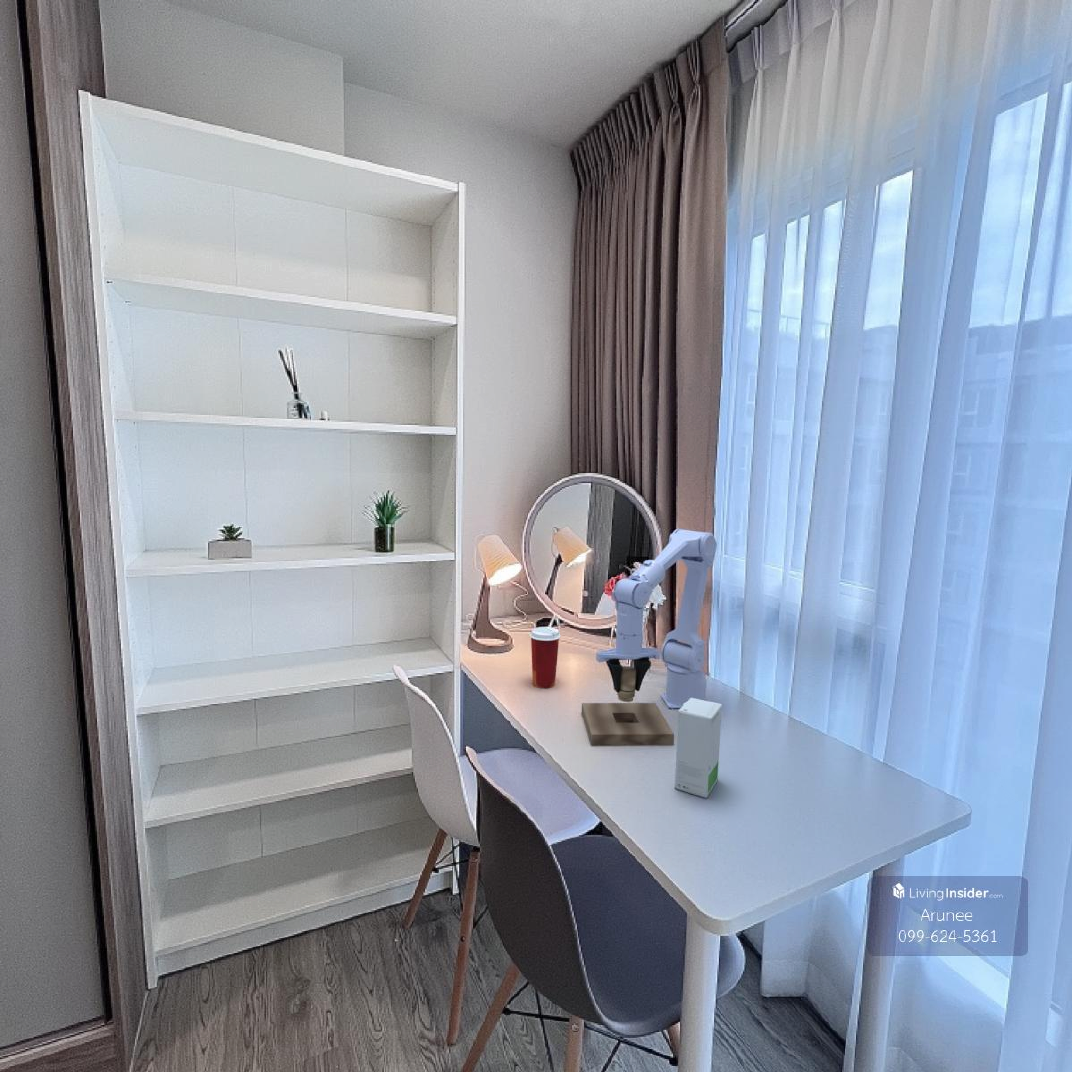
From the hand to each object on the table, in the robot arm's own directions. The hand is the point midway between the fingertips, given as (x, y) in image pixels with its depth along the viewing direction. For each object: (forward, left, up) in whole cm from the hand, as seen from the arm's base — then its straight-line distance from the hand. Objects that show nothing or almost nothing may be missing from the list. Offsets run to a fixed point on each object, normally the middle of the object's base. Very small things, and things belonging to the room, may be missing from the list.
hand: (626, 689), depth 135 cm
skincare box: (-9, +23, -9) cm, 26 cm away
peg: (0, 0, -2) cm, 2 cm away
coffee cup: (+17, -26, -9) cm, 32 cm away
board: (0, 0, -9) cm, 9 cm away
